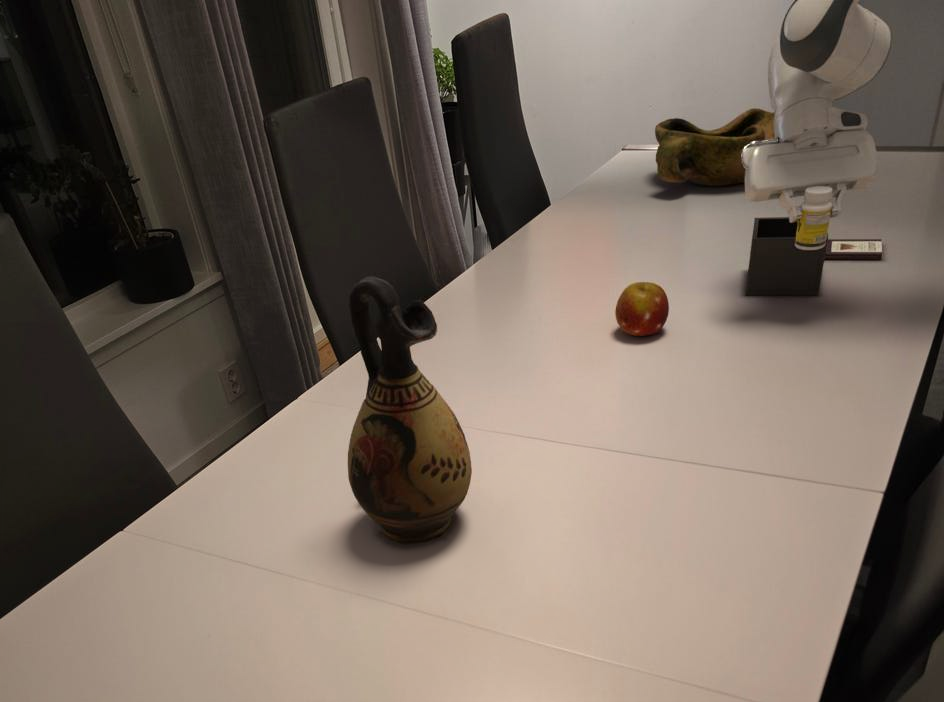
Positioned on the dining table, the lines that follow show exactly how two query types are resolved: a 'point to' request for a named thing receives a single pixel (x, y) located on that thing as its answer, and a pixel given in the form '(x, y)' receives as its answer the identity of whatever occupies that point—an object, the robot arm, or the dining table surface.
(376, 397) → the ceramic jug
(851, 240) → the chocolate bar
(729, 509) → the dining table surface
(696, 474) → the dining table surface
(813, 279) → the trash bin
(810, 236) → the supplement bottle
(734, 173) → the bowl
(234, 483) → the dining table surface
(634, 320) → the fruit
